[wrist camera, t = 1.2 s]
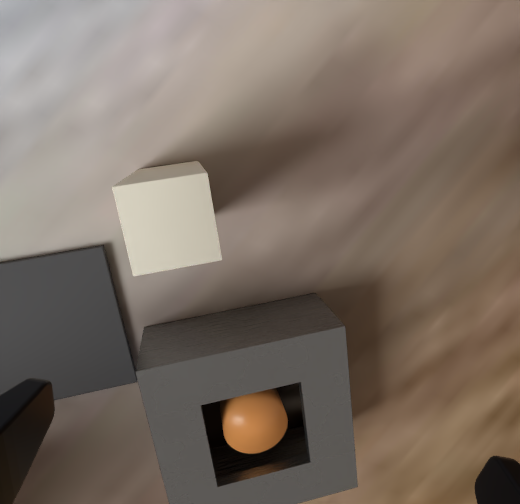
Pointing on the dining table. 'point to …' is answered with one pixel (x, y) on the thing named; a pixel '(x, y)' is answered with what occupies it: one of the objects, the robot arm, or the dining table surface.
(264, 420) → the orange rounded piece
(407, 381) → the dining table surface
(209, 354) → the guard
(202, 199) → the cream rectangular prism
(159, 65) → the dining table surface
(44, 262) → the mat
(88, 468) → the dining table surface
